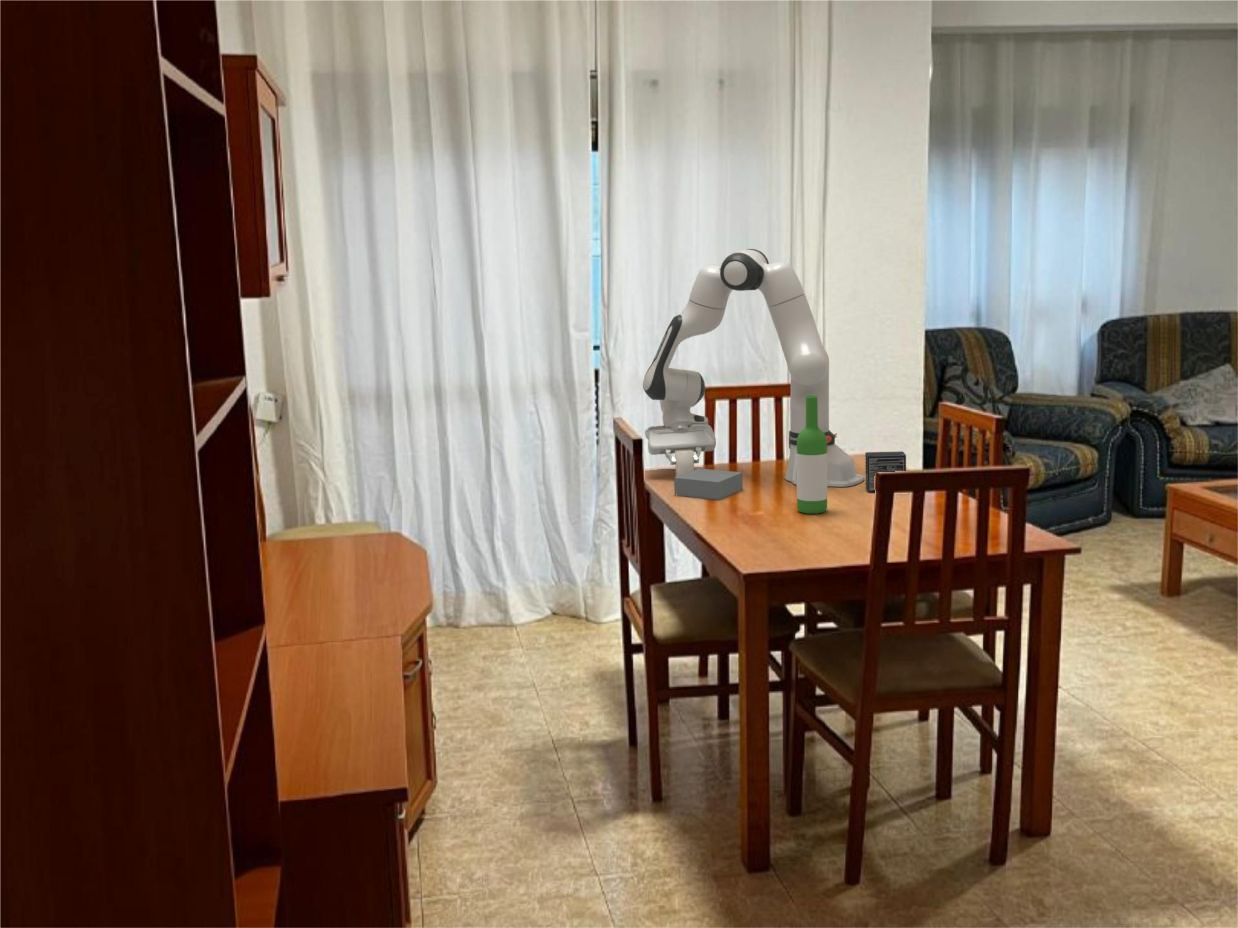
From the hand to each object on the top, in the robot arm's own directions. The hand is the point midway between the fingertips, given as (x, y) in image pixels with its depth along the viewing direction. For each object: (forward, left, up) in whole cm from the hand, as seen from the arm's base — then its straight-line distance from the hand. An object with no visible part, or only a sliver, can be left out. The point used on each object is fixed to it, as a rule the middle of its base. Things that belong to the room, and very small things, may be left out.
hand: (685, 463), depth 346 cm
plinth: (-14, +12, -5) cm, 19 cm away
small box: (-57, -11, -5) cm, 59 cm away
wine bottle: (-49, +20, -5) cm, 53 cm away
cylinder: (0, 0, -4) cm, 4 cm away
